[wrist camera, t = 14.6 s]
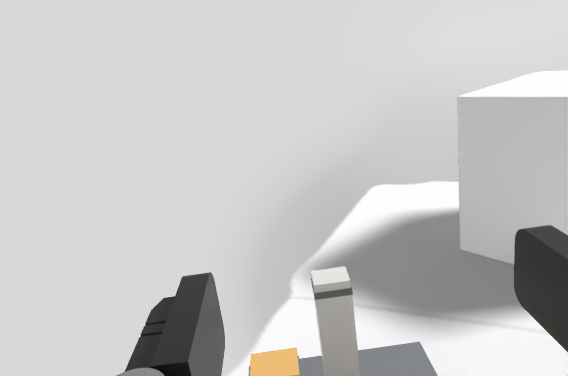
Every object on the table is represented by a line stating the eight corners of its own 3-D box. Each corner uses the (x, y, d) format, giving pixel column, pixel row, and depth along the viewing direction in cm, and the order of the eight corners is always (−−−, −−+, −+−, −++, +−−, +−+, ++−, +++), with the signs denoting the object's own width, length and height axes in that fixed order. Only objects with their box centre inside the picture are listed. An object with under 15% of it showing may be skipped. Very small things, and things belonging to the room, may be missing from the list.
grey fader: (357, 379, 42) (345, 265, 39) (363, 399, 40) (351, 280, 36) (325, 384, 42) (310, 270, 39) (328, 404, 40) (313, 286, 36)
